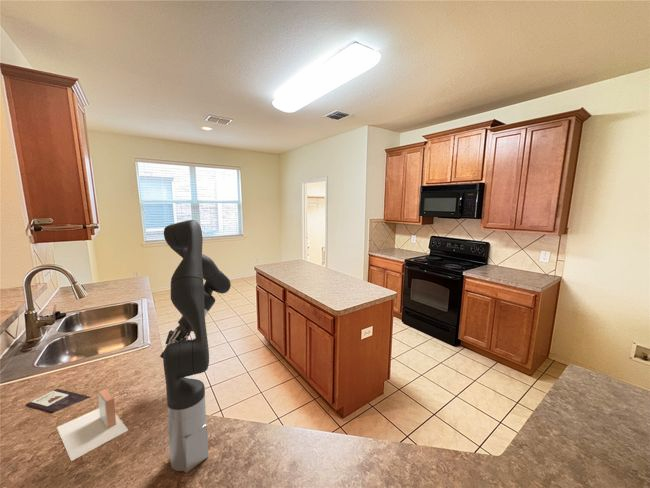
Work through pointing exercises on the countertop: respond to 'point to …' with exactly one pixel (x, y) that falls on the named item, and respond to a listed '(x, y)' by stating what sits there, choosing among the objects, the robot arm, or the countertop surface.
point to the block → (107, 408)
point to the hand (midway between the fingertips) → (162, 358)
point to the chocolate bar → (56, 400)
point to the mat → (88, 433)
